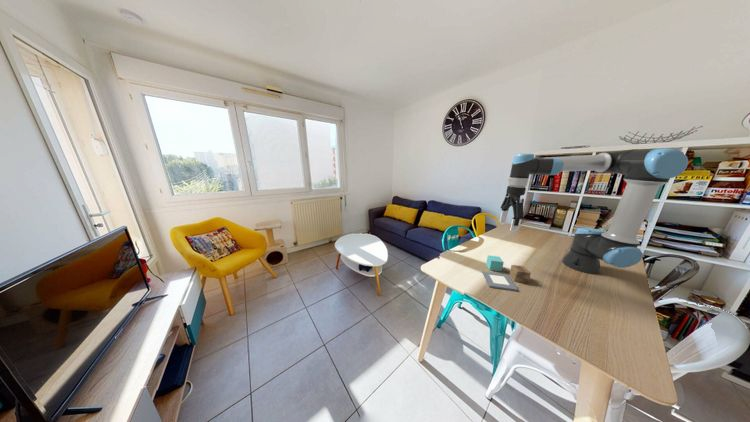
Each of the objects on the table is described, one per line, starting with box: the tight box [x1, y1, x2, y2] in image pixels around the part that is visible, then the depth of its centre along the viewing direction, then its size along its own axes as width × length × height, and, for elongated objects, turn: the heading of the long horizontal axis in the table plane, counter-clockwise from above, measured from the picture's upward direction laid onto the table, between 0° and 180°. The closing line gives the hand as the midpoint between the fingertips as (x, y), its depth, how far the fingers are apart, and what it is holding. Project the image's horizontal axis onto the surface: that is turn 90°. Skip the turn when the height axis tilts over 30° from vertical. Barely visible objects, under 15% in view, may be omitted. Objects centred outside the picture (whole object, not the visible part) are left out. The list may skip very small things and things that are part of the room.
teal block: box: [485, 254, 504, 273], centre depth 107 cm, size 6×6×6 cm
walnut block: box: [508, 264, 531, 284], centre depth 98 cm, size 6×6×6 cm
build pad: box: [481, 270, 519, 292], centre depth 96 cm, size 12×12×1 cm
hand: (507, 226), depth 100 cm, fingers open, 13 cm apart
